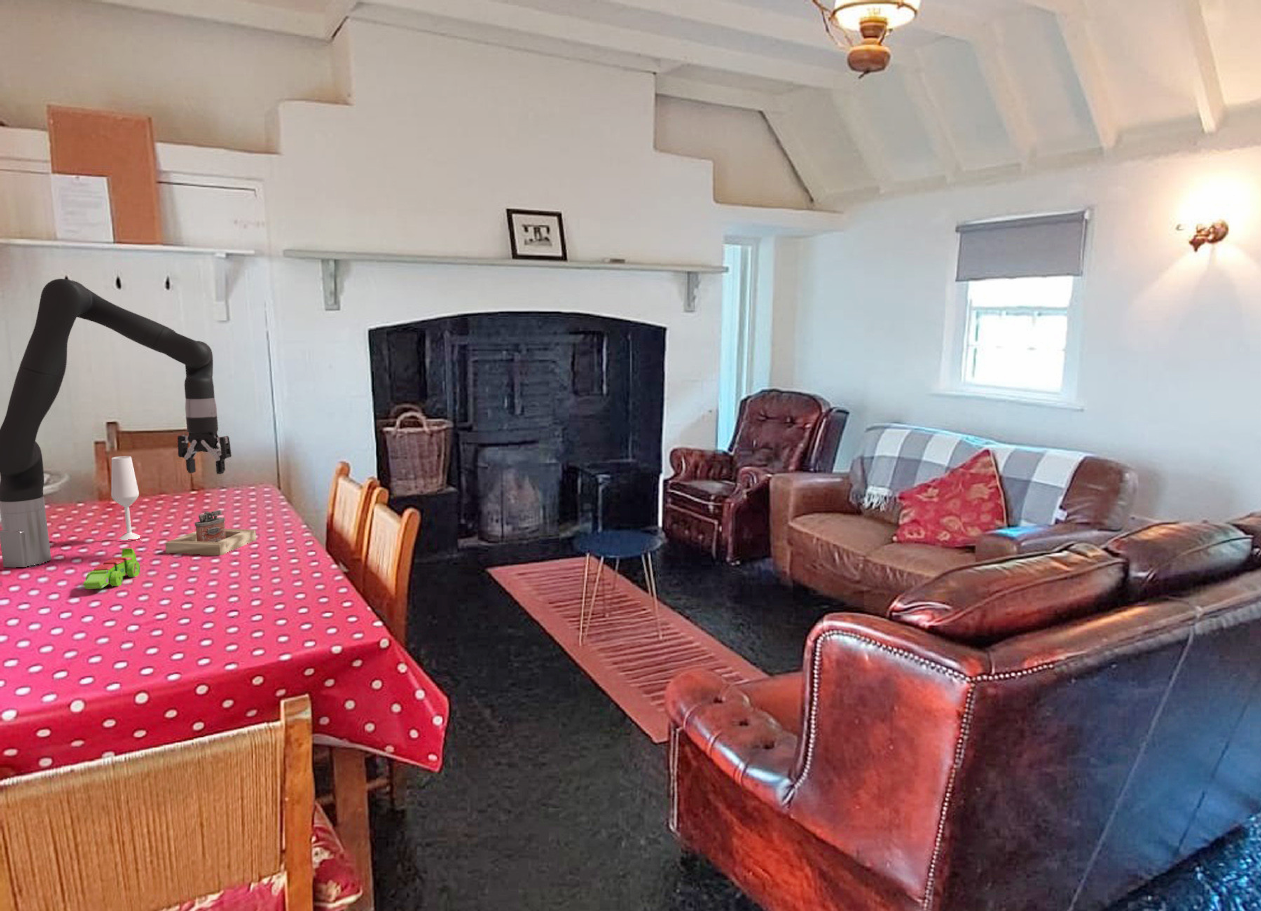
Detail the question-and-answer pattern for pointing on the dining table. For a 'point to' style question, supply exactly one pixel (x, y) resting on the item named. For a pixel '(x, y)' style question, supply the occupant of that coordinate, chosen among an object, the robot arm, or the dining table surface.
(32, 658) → the dining table surface
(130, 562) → the toy crocodile
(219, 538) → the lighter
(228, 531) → the square beige frame
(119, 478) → the champagne flute
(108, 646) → the dining table surface
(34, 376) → the robot arm
